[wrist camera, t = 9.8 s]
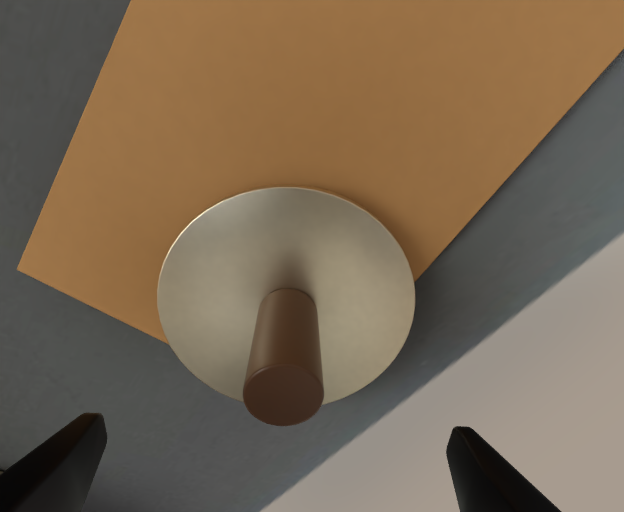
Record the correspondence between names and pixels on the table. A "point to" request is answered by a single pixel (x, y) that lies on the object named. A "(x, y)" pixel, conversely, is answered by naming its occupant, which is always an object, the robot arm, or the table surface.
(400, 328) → the lid
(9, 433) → the table surface
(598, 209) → the table surface
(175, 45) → the mat
